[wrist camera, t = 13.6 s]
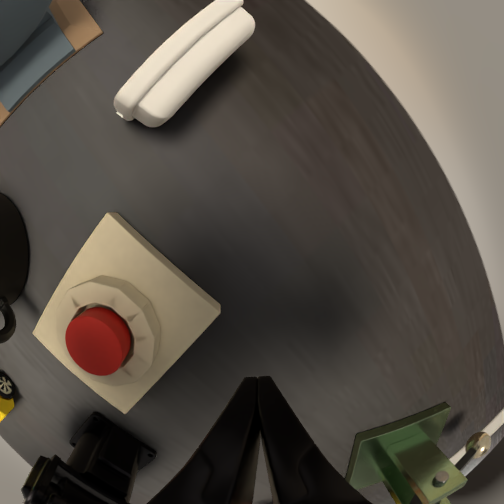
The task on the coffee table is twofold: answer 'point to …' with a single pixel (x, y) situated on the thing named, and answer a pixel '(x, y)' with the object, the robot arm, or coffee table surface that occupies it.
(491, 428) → the nameplate
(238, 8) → the soap
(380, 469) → the bracket
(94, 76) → the coffee table surface
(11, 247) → the mug
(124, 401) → the button block
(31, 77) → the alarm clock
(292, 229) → the coffee table surface
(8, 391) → the toy car
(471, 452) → the lever
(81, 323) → the button
